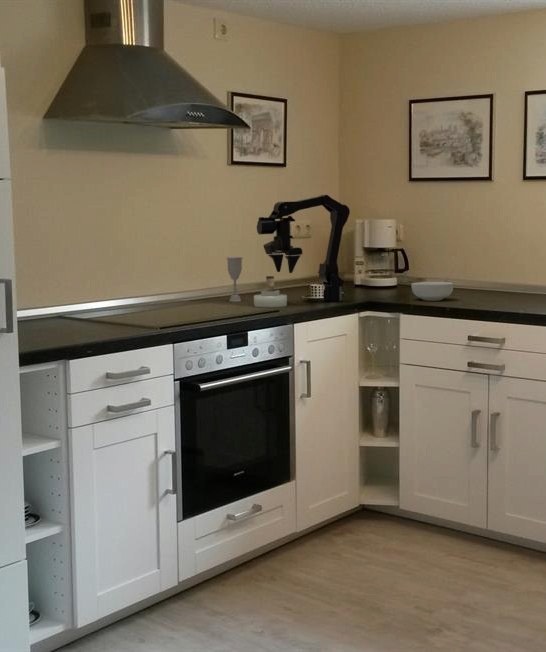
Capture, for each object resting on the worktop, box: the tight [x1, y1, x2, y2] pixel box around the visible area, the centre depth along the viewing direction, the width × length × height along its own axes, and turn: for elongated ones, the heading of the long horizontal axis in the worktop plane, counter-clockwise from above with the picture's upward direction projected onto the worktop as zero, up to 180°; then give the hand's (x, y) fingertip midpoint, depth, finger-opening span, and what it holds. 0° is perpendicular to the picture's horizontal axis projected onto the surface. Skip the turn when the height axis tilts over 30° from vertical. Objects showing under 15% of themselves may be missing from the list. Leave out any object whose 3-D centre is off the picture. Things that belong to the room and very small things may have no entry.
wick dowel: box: [265, 275, 275, 292], centre depth 377 cm, size 3×3×8 cm
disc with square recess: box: [253, 289, 288, 308], centre depth 378 cm, size 13×13×6 cm
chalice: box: [226, 256, 244, 302], centre depth 398 cm, size 7×7×18 cm
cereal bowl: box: [411, 281, 454, 302], centre depth 394 cm, size 17×17×7 cm
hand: (284, 272), depth 384 cm, fingers open, 9 cm apart
